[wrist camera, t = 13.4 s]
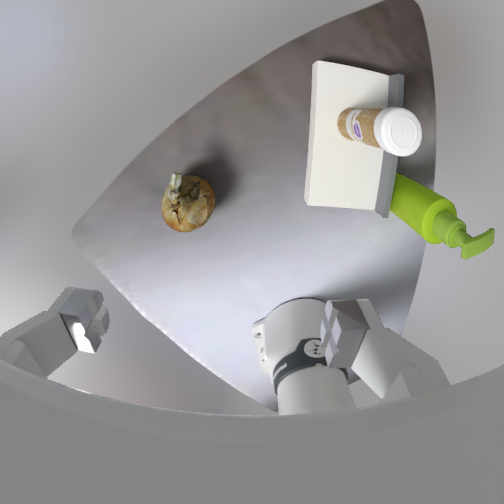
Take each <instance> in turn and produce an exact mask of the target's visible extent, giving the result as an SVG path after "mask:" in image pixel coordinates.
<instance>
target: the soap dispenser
mask: <svg viewBox="0 0 504 504" xmlns="http://www.w3.org/2000/svg"><path fill="white" fill-rule="evenodd" d="M390 210H391V211H392V212H393V213H394V214H396V215H397V216H398V217H399V218H400V219H402V220H403V221H404V222H405V223H407V224H408V225H409V226H410V227H411V228H412V229H414V230H415V231H416V232H417V233H418V234H419V235H421V236H422V237H423V238H424V239H425V240H426V241H427V242H429V243H431V244H439V243H441V242H444V243H445V244H446V245H448V246H449V247H450V248H455V247H457V246H460V247H461V248H462V253H461V257H462V258H463V259H464V260H465V259H468V258H470V257H473V256H475V255H478V254H480V253H482V252H483V251H485V250H486V249H488V248H489V247H490V246H491V245H492V244H493V241H494V231H495V230H494V228H490V229H489V230H488V231H486V232H485V233H483V234H481V235H479V236H476V237H473V238H472V237H471V236H470V235H468V234H467V233H466V225H465V223H464V222H463V221H462V220H460V219H459V218H457V213H456V209H455V206H454V205H453V203H452V202H451V201H449V200H448V199H446V198H444V197H443V196H440V195H439V194H437V193H435V192H434V191H432V190H430V189H428V188H426V187H424V186H423V185H421V184H419V183H417V182H415V181H413V180H411V179H409V178H407V177H405V176H403V175H401V174H398V173H396V176H395V182H394V188H393V194H392V199H391V205H390Z"/></svg>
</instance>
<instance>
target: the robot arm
mask: <svg viewBox="0 0 504 504" xmlns="http://www.w3.org/2000/svg"><path fill="white" fill-rule="evenodd" d="M103 302H104V298H103V295H102V293H101V292H100V291H98V290H90V289H82V288H74V287H68V288H66V289H65V290H64V291H63V292H62V294H61V295H60V296H59V297H58V298H57V300H56V301H55V302H54V303H53V305H52V306H51V307H50V309H49V310H48V311H43V312H41V313H39V314H38V315H36V316H34V317H32V318H30V319H29V320H27V321H25V322H23V323H21V324H19V325H17V326H16V327H14V328H12V329H10V330H8V331H7V332H5V333H3V334H2V336H1V337H0V504H504V365H502V366H500V367H498V368H495V369H493V370H491V371H489V372H486V373H484V374H481V375H479V376H476V377H474V378H471V379H468V380H466V381H463V382H460V383H457V384H455V385H450V383H449V381H448V379H447V378H446V376H445V374H444V372H443V370H442V368H441V366H440V364H439V363H438V361H437V360H436V359H434V358H433V357H431V356H430V355H428V354H427V353H425V352H424V351H422V350H421V349H419V348H418V347H416V346H415V345H413V344H412V343H410V342H409V341H407V340H406V339H404V338H402V337H401V336H400V335H398V334H397V333H395V332H394V331H392V330H391V329H389V328H384V326H383V324H382V322H381V320H380V318H379V316H378V315H377V313H376V311H375V309H374V307H373V305H372V303H371V302H370V300H369V299H355V300H328V301H327V303H324V302H322V301H319V300H315V299H297V300H293V301H289V302H287V303H284V304H282V305H280V306H279V307H277V308H276V309H274V310H273V311H272V312H271V313H270V314H269V315H268V316H267V317H266V318H264V319H262V320H260V321H258V322H256V323H254V324H253V325H252V327H251V329H252V334H253V338H254V342H255V347H256V351H257V355H258V359H259V363H260V367H261V371H262V373H264V374H267V375H270V379H271V383H272V385H273V386H274V389H275V393H276V394H277V396H278V407H279V415H265V416H264V415H262V416H254V415H253V416H252V415H249V416H248V415H222V414H207V413H196V412H195V413H194V412H186V411H178V410H169V409H163V408H157V407H150V406H145V405H140V404H134V403H130V402H124V401H120V400H116V399H112V398H107V397H103V396H99V395H95V394H92V393H88V392H85V391H81V390H78V389H75V388H72V387H68V386H65V385H62V384H59V383H56V382H54V381H51V380H48V378H47V377H48V376H49V375H50V374H51V373H52V372H53V371H54V370H56V369H57V368H58V367H59V366H61V364H63V363H64V362H65V361H66V360H68V359H69V358H70V357H71V356H73V355H74V354H75V353H76V352H77V350H79V351H84V352H89V353H96V351H97V349H98V347H99V345H100V343H101V337H100V336H102V335H103V334H105V333H106V332H107V329H108V327H109V321H110V319H109V313H108V310H107V308H106V307H105V306H104V305H103ZM347 367H351V369H352V370H353V371H354V372H355V373H356V374H357V375H358V376H359V377H360V378H361V379H362V380H364V382H365V383H366V384H367V385H368V386H369V387H370V388H371V389H372V390H373V391H374V392H375V393H376V394H377V395H378V396H379V397H381V399H382V401H381V402H380V403H379V404H378V405H372V406H367V407H361V408H356V406H355V403H354V400H353V398H352V395H351V392H350V389H349V386H348V382H347V380H348V373H347Z"/></svg>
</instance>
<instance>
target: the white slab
mask: <svg viewBox="0 0 504 504" xmlns="http://www.w3.org/2000/svg"><path fill="white" fill-rule="evenodd" d="M403 99H404V75H402V74H395V75H390V76H388V75H384V74H381V73H377V72H373V71H369V70H365V69H361V68H356V67H352V66H347V65H342V64H336V63H331V62H325V61H316V62H315V63H314V64H313V69H312V95H311V115H310V132H309V147H308V160H307V172H306V184H305V194H304V200H305V201H306V203H307V204H308V205H312V206H328V207H343V208H356V209H368V210H375V211H376V212H377V213H378V214H380V215H381V216H382V217H383V218H388V215H389V210H390V205H391V199H392V194H393V188H394V182H395V176H396V170H397V163H398V156H397V155H394V154H391V153H388V152H386V151H385V150H383V149H381V148H377V147H374V146H370V145H366V144H363V143H359V142H357V141H352V140H348V139H346V138H345V137H344V136H342V135H341V133H340V132H339V130H338V127H337V123H338V122H337V120H338V117H339V115H340V113H341V112H342V111H343V110H345V109H347V108H356V109H359V108H382V109H386V108H389V107H398V108H403Z"/></svg>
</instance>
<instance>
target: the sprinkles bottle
mask: <svg viewBox="0 0 504 504" xmlns="http://www.w3.org/2000/svg"><path fill="white" fill-rule="evenodd" d="M337 122H338V123H337V127H338V130H339V132H340V133H341V135H342V136H344V137H345V138H346V139H348V140H352V141H357V142H359V143H363V144H366V145H370V146H374V147H377V148H381V149H383V150H385V151H386V152H388V153H391V154H394V155H397V156H409V155H411V154H413V153H414V152H415V151H416V150H417V149H418V147H419V145H420V143H421V139H422V129H421V125H420V122H419V121H418V119H417V117H416V116H415V115H414V114H413V113H412V112H411V111H409V110H407V109H404V108H398V107H389V108H386V109H382V108H359V109H356V108H347V109H345V110H343V111H342V112H341V113H340V115H339V117H338V120H337Z"/></svg>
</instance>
